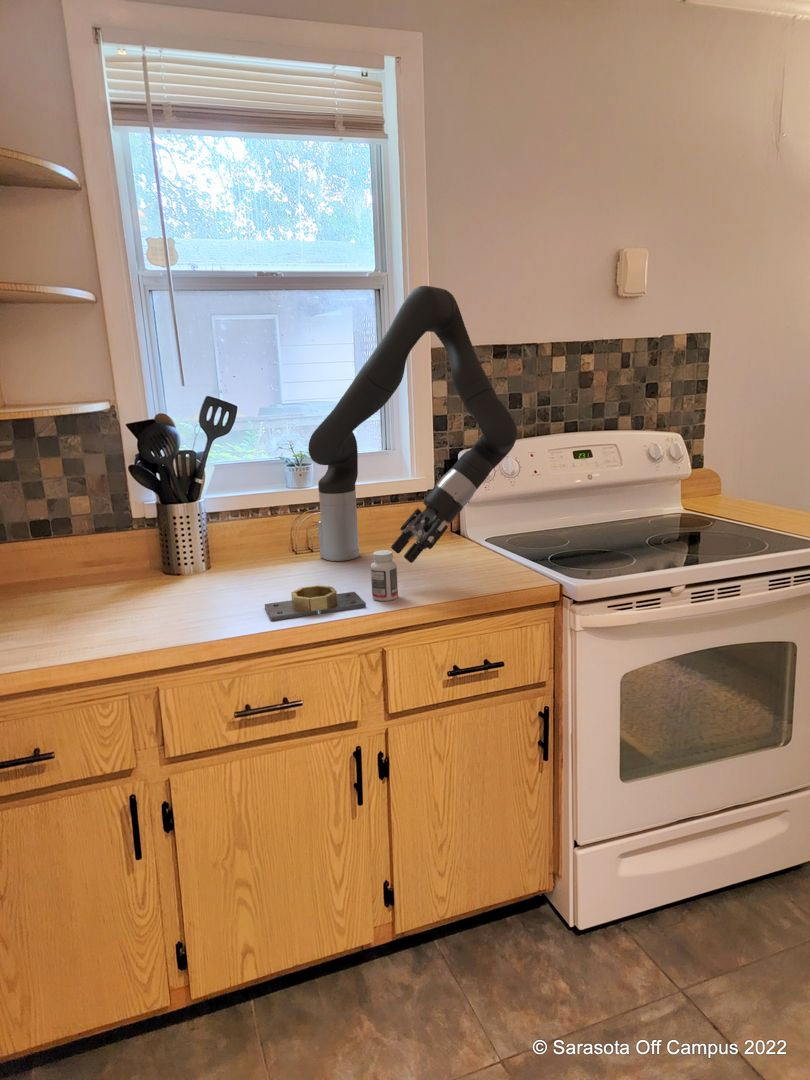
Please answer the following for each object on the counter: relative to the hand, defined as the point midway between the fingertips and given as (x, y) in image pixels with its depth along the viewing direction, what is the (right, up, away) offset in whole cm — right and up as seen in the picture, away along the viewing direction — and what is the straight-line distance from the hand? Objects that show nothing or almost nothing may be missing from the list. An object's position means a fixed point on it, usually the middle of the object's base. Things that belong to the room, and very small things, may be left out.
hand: (400, 555), depth 150 cm
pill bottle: (-3, -9, +1) cm, 10 cm away
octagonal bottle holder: (-17, -11, -4) cm, 21 cm away
